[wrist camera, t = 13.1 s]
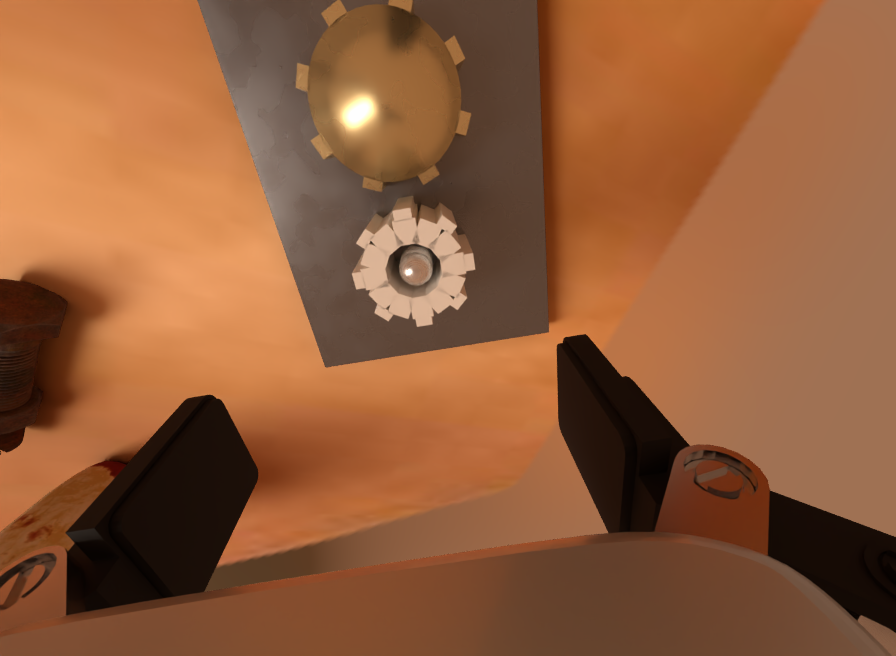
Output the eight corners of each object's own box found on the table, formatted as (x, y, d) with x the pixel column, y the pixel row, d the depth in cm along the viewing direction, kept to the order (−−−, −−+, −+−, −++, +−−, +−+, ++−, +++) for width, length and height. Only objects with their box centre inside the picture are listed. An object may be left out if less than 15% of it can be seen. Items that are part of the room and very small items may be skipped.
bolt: (27, 409, 35) (50, 276, 29) (57, 447, 34) (87, 317, 28) (-78, 436, 30) (-74, 281, 24) (-46, 483, 29) (-35, 332, 23)
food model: (200, 487, 38) (-5, 805, 20) (165, 521, 39) (-52, 840, 21) (100, 434, 34) (-261, 761, 16) (67, 474, 36) (-291, 807, 18)
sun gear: (278, 73, 22) (257, 64, 19) (411, -32, 20) (409, -59, 17) (373, 213, 25) (367, 222, 23) (492, 134, 24) (501, 133, 21)
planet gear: (352, 206, 25) (336, 220, 21) (458, 187, 25) (466, 198, 20) (377, 304, 28) (368, 334, 24) (472, 288, 28) (481, 316, 24)
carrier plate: (205, -10, 21) (112, -73, 15) (527, -67, 21) (571, -156, 15) (329, 357, 32) (305, 411, 26) (543, 324, 31) (572, 369, 25)
